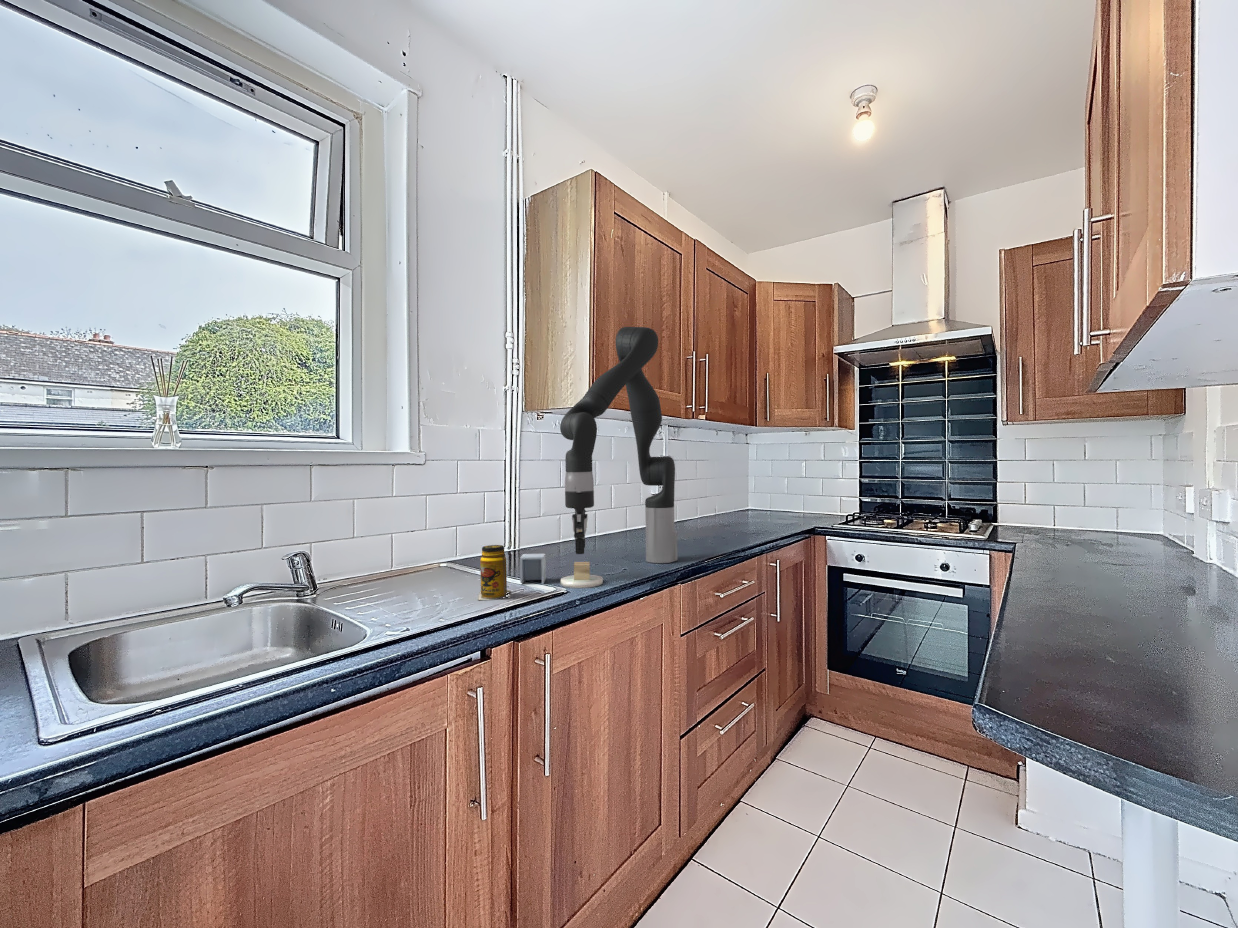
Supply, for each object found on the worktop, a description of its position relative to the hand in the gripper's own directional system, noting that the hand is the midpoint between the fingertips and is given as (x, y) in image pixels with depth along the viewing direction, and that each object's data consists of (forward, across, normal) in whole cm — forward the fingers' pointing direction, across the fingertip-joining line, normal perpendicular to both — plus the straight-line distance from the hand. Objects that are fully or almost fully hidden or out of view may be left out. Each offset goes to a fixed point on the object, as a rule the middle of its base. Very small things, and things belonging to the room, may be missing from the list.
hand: (580, 550), depth 146 cm
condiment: (+8, +12, -20) cm, 25 cm away
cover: (+8, -3, -13) cm, 16 cm away
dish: (+8, +1, 0) cm, 8 cm away
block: (+7, +1, 0) cm, 7 cm away
